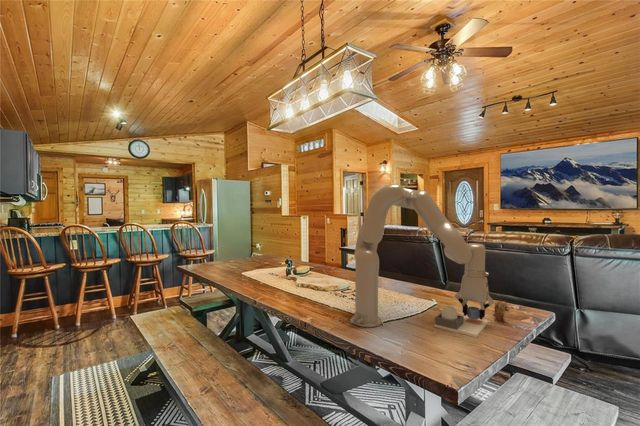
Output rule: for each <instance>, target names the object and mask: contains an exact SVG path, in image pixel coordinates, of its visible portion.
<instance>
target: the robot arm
mask: <svg viewBox="0 0 640 426" xmlns="http://www.w3.org/2000/svg"><path fill="white" fill-rule="evenodd" d="M392 206H397V207H400V208H405V209H409V210H414V211H415V213H416V215H417V216H419V218H420V220H421V221H422V222H423V224H424V226H425V227H426V229H427V230H428V231H429V232H430V233H431V235H433V236H435V237H436V238H437V239H438V240H439V241H440V242H441V243H442V244H443V246H444V249H443V252H444V255H445V257H446V258H448V259H449V260H451V261H453V262H455V263H457V264H459V265H464V274H463V275H462V277H461V278H462V279H461V282H460V284H461V285H460V290H459V291H458V292H457V293H455V294H454V297H455V298H456V300H458V302H459V303H460V304H461V306H462V314H463V315H464V316H467V308H468V306H469V305H468V301H470V302H476V303H479V307H480V309H479V310H480V318H479V319H481V320H484V318H485V317H486V309H487V308H489V307H491V306H492V305H495V301H494V299H493V298H492V297H491V296H490V295H489V282H488V276H489V275H490V273H489V272H487V271H486V246H485V245H484V244H482V243H475V242H471V243H467V242H466V239H464V237H463V236H462V235H461V234H460V232H459V231H458V230H457V229H456V228H455V226H454V225H453V224H452V223H451V222H450V221H449V220H448V219H447V217H446V215H445V214H444V212H443V211H442V210H441V209H440V207H439V205H438V204H437V202H436V201H435V200H434V198H433V196H431V194H430V193H429V192H428V191H426V190H424V189H423V190H422V189H417V190H416V189H411V188H405V187H403V186H402V185H400V184H398V183H391V184H387V185H386V186H384V187H381V188H380V189H378V190H377V191H376V192H375V193H374V194H373V195H372V196H371V198H370V199H369V202H368V205H367V208H366V212H365V217H364V220H363V221H364V222H363V223H362V224H361V225H360V226H359V230H358V234H357V237H356V243H355V249H354V254H353V255H354V260H355V272H354V273H355V275H354V276H355V277H354V279H355V283H354V285H355V294H354V295H355V296H354V297H355V298H354V299H355V300H354V302H355V304H354V305H355V306H354V308H355V309H354V311H355V312H354V315H353V316H352V317H350V319H349V323H351V324H354V325H355V326H358V327H362V328H375V327H379V326H381V324H382V321H383V320H382V318H381V317H380V316H379V271H380V257H379V255H378V251H377V250H378V245H379V243H380V242H381V241H382V240H383V238H384V237H383V236H384V230H385V226H386V222H387V221H386V220H387V216H388V213H389V212H390V211H389V210H390V209H391V207H392ZM487 301H488V302H487ZM486 302H487V303H486Z"/></svg>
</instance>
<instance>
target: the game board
mask: <svg viewBox="0 0 640 426" xmlns="http://www.w3.org/2000/svg"><path fill="white" fill-rule="evenodd" d="M488 324H489V321H488V320H486V319H482V320H481V319H480V318H479V319H470V318H469V317H468V316H467V315H466V316H464V314H458V313H457V320H456V321H453V320H448V319H444V318H442V311H440V313H438V314H437V315H436V316H435V317H434V327H435V328H438V329H441V330H445V331H450V332H454V333H457V334H461V335H465V336H469V337H472V338H478V337H479V335H480V334H481V333H482V332H483V330H484V329H485V328H486V327H487V325H488Z"/></svg>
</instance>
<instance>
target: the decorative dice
mask: <svg viewBox="0 0 640 426" xmlns="http://www.w3.org/2000/svg"><path fill="white" fill-rule="evenodd" d="M466 316H468V317H469V318H470V319H480V309H479V308H478V307H477V306H469V307H468V308H467V315H466Z"/></svg>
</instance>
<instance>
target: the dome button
mask: <svg viewBox="0 0 640 426" xmlns="http://www.w3.org/2000/svg"><path fill="white" fill-rule="evenodd" d="M441 312H442V318H444V319H448V320H453V321H456V320H457V314H458V311H457V309H456V307H454V306H452V305H445V306H443V308H442V310H441Z"/></svg>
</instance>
